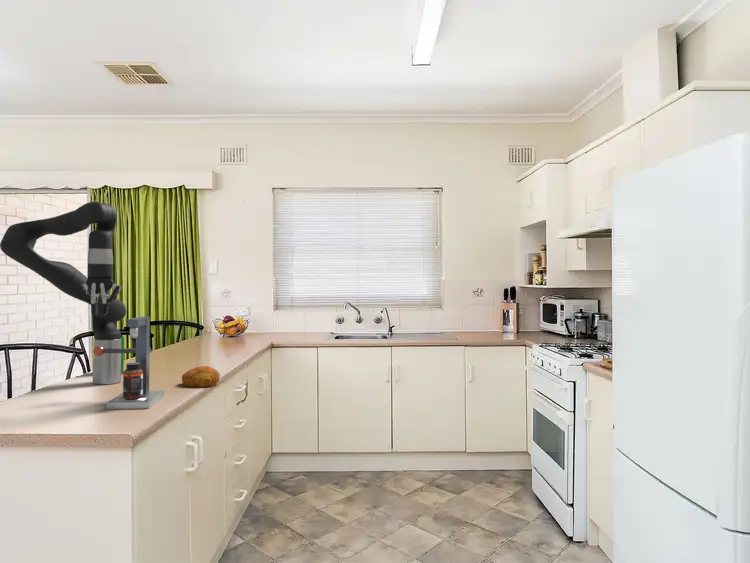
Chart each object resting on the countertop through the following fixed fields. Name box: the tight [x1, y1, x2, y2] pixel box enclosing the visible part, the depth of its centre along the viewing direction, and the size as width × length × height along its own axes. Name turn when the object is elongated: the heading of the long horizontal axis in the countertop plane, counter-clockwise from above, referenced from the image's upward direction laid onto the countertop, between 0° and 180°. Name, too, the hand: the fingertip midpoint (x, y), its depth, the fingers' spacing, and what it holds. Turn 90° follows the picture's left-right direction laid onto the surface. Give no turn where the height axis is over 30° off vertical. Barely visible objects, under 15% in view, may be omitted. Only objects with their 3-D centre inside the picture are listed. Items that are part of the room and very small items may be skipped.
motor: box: [121, 336, 125, 375], centre depth 234 cm, size 10×9×20 cm
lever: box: [92, 346, 152, 356], centre depth 188 cm, size 19×4×4 cm, turn 97°
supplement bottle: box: [122, 362, 143, 399], centre depth 176 cm, size 6×6×11 cm
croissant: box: [181, 365, 221, 388], centre depth 212 cm, size 14×16×8 cm
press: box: [105, 316, 165, 410], centre depth 179 cm, size 13×18×28 cm
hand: (100, 315), depth 178 cm, fingers closed
